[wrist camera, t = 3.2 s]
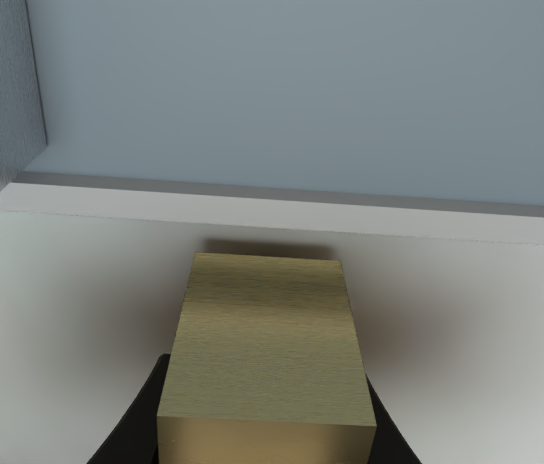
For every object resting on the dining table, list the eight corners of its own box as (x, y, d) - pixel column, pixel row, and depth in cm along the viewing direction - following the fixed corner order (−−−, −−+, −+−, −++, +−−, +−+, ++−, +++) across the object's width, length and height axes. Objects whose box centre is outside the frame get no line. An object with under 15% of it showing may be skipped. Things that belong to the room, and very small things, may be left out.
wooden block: (312, 424, 16) (329, 610, 11) (195, 419, 16) (166, 604, 11) (340, 260, 13) (377, 426, 8) (195, 252, 13) (156, 415, 8)
